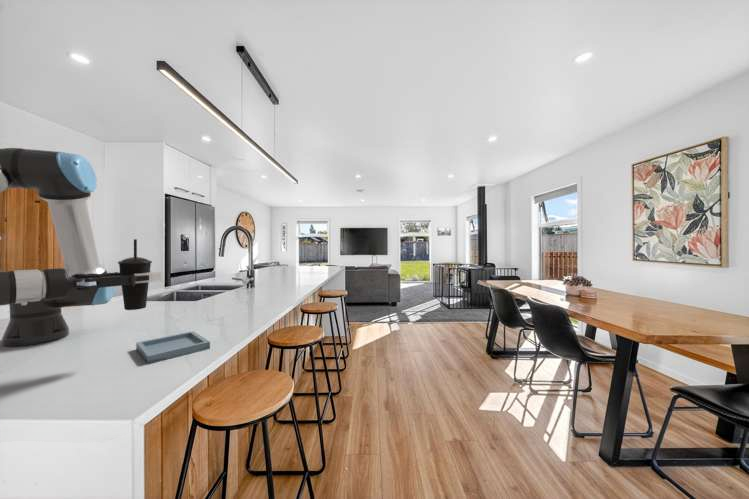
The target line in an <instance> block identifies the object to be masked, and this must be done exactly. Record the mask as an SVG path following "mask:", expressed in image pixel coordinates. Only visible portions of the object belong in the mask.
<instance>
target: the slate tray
mask: <svg viewBox="0 0 749 499" xmlns="http://www.w3.org/2000/svg"><path fill="white" fill-rule="evenodd" d="M135 346H136V347H135V349H136V351H137V352H138V353H139V355H140V356H141V357H142V358H143V360H144V361H145V362H146V363H147V365H150V364H154V363H157V362H163V361H165V360H170V359H174V358H178V357H182V356H186V355H189V354H194V353H197V352H202V351H206V350H210V349H211V342H210V341H209V340H208V339H207V338H205V337H203V336H202V335H201V334H200V333H197V332H195V331H194V330H191V331H188V332H183V333H177V334H173V335H168V336H161V337H158V338H152V339H148V340H143V341H137V342H136V344H135Z"/></svg>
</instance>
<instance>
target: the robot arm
mask: <svg viewBox="0 0 749 499" xmlns="http://www.w3.org/2000/svg"><path fill="white" fill-rule="evenodd" d="M9 189H27V190H36V191H37V195H38V198H39V199H42V200H43V201H45V202H47V206H48V207H49V211H50V212H49V213H50V215H51V220H52V223H53V227H54V231H55V234H56V239H57V243H58V245H59V246H58V247H59V249H60V250H59V251H60V254H61V256H62V259H63V265H64V268H63V267H61V268H46V269H43V270H42V271H41V270H39V269H21V270H19V269H18V270H17V269H16V270H8V271H7V270H6V271H2V265H1V263H2V262H1V258H2V256H1V253H0V306H7V305H9V322H8V324H7V327H6V328H5V331H4V332H3V335H2V338H1V345H2V346H4V347H21V346H22V347H23V346H31V345H37V344H42V343H47V342H52V341H57V340H58V339H59V340H60V339H63V338H65V337H67V336H68V335H69V334H70V328H69V326H68V324H67V322H66V319H65V318H64V316H63V314H62V308H68V307H69V308H72V307H81V306H82V307H83V306H84V307H86V306H91V307H93V306H97V305H98V306H99V305H106V304H107V303H109V302H110V301H111V300H112V298H113V296H114V294H115V290H116V287H118V286H119V287H120V286H121V287H122V285H132V286H135V284H136V283H146V282H149V283H153V282H162V271H153V270H152V269H150V273H140V274H134V275H133V274H131V275H120V271H119V272H118V271H116V272H108V271H107V266H105V265H104V264H102V263H100V261H99V255H98V251H97V246H96V242H95V237H94V232H93V229H92V224H91V220H90V214H89V210H88V206H87V200H88V199H89V198H91V196H92V195H91V194H92V193H93V192H95V190H96V189H97V176H96V172H95V170H94V168H93V166H92V164H91V163H90V161H89V160H87V158H86V157H84V156H82V155H80V154H77V153H69V152H65V151H56V150H55V151H54V150H41V149H31V148H29V149H28V148H27V149H26V148H21V147H6V148H5V147H4V148H0V193H3V192H4V191H6V190H9ZM1 240H2V237H1V236H0V241H1Z"/></svg>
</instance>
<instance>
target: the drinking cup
mask: <svg viewBox="0 0 749 499" xmlns="http://www.w3.org/2000/svg"><path fill="white" fill-rule="evenodd" d="M137 240H138V238H137V239H135V238H134V239H133V257H132V256H130V257H128V258H123V259H122V260H118V261H117V264H118V267H119V273H120V275H131V274H133V275H134V274H140V273H150V270H151V267H152V263H153V260H149V259H147V258H144V257H140V256H138V241H137ZM149 283H150V282H146V283H136V284H135V286H132V285H122V286H121V292H122V299H123V307H124V310H126V311H137V310H142V309H145V308H147V300H148V292H149V291H148V290H149Z"/></svg>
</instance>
